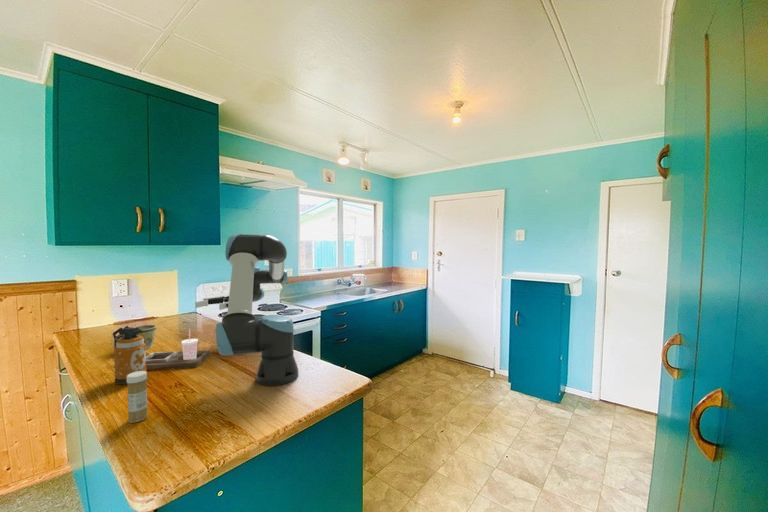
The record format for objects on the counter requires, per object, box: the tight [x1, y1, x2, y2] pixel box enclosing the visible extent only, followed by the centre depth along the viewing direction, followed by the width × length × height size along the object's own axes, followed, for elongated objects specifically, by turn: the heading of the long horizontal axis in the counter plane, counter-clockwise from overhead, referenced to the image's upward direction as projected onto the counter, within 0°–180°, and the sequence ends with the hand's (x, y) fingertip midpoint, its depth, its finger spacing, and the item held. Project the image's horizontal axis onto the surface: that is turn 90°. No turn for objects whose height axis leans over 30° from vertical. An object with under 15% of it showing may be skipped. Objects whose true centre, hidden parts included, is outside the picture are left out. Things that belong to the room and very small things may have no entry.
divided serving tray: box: [146, 349, 212, 371], centre depth 131 cm, size 15×23×3 cm, turn 100°
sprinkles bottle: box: [126, 370, 149, 424], centre depth 88 cm, size 5×5×14 cm
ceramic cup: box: [132, 324, 157, 350], centre depth 150 cm, size 13×10×10 cm
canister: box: [112, 325, 147, 385], centre depth 113 cm, size 9×11×20 cm
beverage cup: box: [181, 328, 199, 360], centre depth 132 cm, size 6×6×14 cm
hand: (207, 305), depth 141 cm, fingers open, 13 cm apart
